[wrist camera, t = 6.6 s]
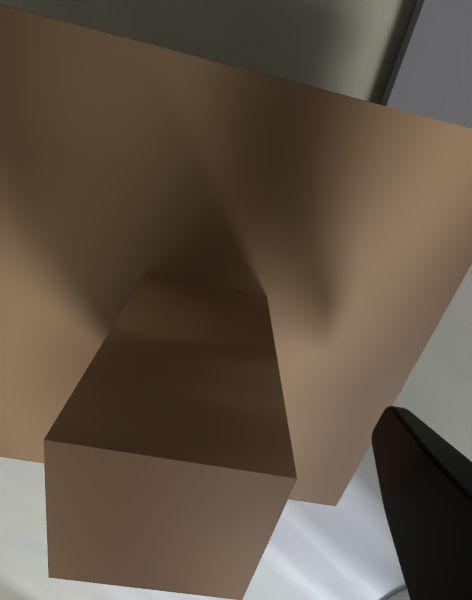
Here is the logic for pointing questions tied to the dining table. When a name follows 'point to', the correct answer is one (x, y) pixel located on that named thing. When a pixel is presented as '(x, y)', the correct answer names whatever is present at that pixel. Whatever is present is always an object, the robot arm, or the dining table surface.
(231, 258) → the lid
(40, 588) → the dining table surface
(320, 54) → the dining table surface
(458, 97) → the mat
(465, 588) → the robot arm
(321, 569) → the dining table surface
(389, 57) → the dining table surface
